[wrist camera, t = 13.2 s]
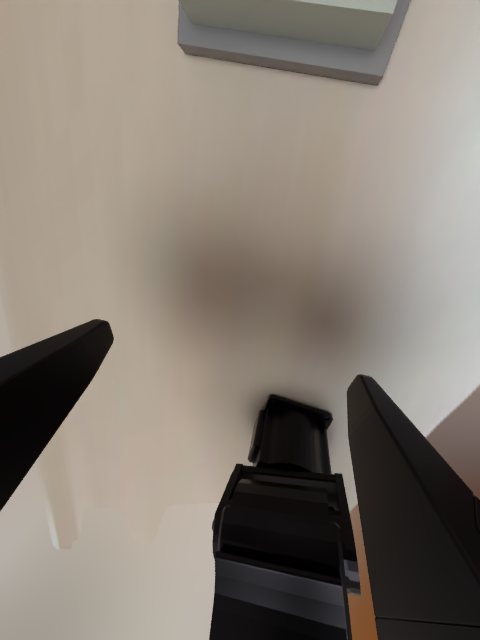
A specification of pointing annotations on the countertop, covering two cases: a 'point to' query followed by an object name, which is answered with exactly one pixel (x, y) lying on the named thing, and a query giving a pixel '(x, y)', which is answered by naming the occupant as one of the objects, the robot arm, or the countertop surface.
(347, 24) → the dock
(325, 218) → the countertop surface
